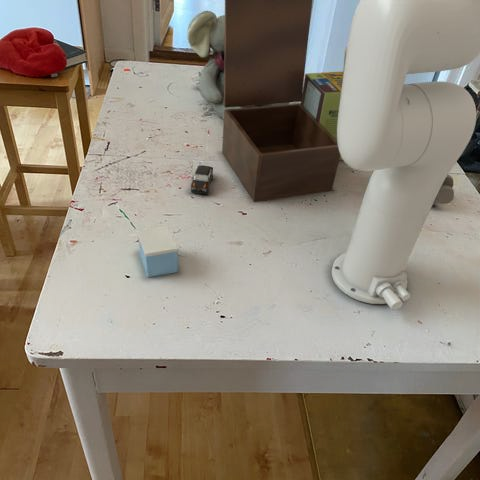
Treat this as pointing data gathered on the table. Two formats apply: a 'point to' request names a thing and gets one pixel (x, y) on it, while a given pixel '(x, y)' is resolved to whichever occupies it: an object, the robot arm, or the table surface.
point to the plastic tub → (158, 251)
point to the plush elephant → (212, 75)
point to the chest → (279, 151)
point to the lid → (265, 51)
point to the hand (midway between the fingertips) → (259, 24)
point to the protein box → (323, 98)
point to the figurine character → (445, 191)
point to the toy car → (202, 179)
